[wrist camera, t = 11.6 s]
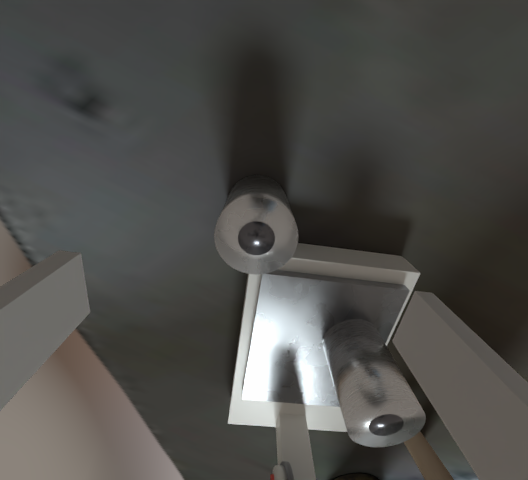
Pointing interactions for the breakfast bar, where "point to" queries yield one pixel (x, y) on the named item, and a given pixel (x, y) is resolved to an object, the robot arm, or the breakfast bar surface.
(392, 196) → the breakfast bar surface
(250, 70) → the breakfast bar surface
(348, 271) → the scale
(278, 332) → the pan
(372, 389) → the spacer
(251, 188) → the spacer
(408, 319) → the robot arm
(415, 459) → the planter
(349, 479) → the container
